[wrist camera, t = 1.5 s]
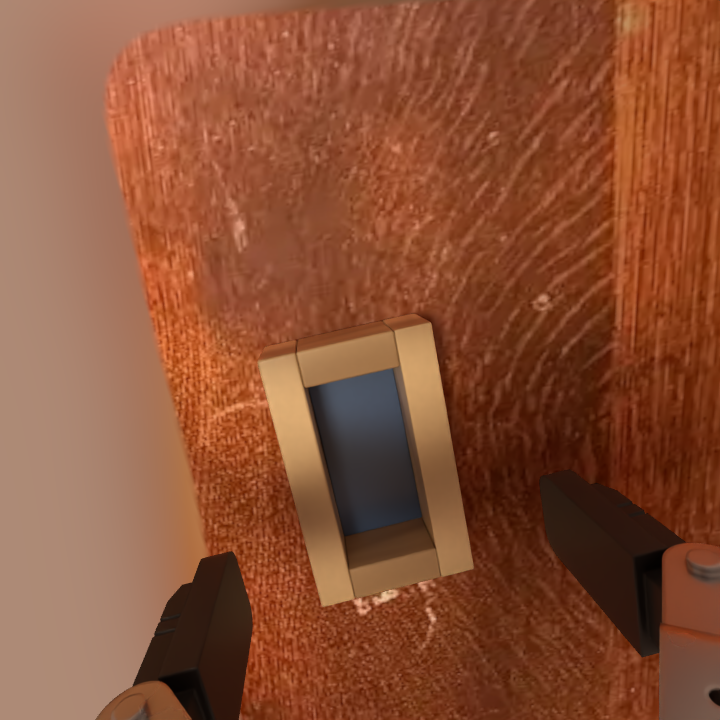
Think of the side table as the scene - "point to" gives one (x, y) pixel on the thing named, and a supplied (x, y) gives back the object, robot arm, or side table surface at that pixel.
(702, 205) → the side table surface
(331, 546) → the frame
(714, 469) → the side table surface
